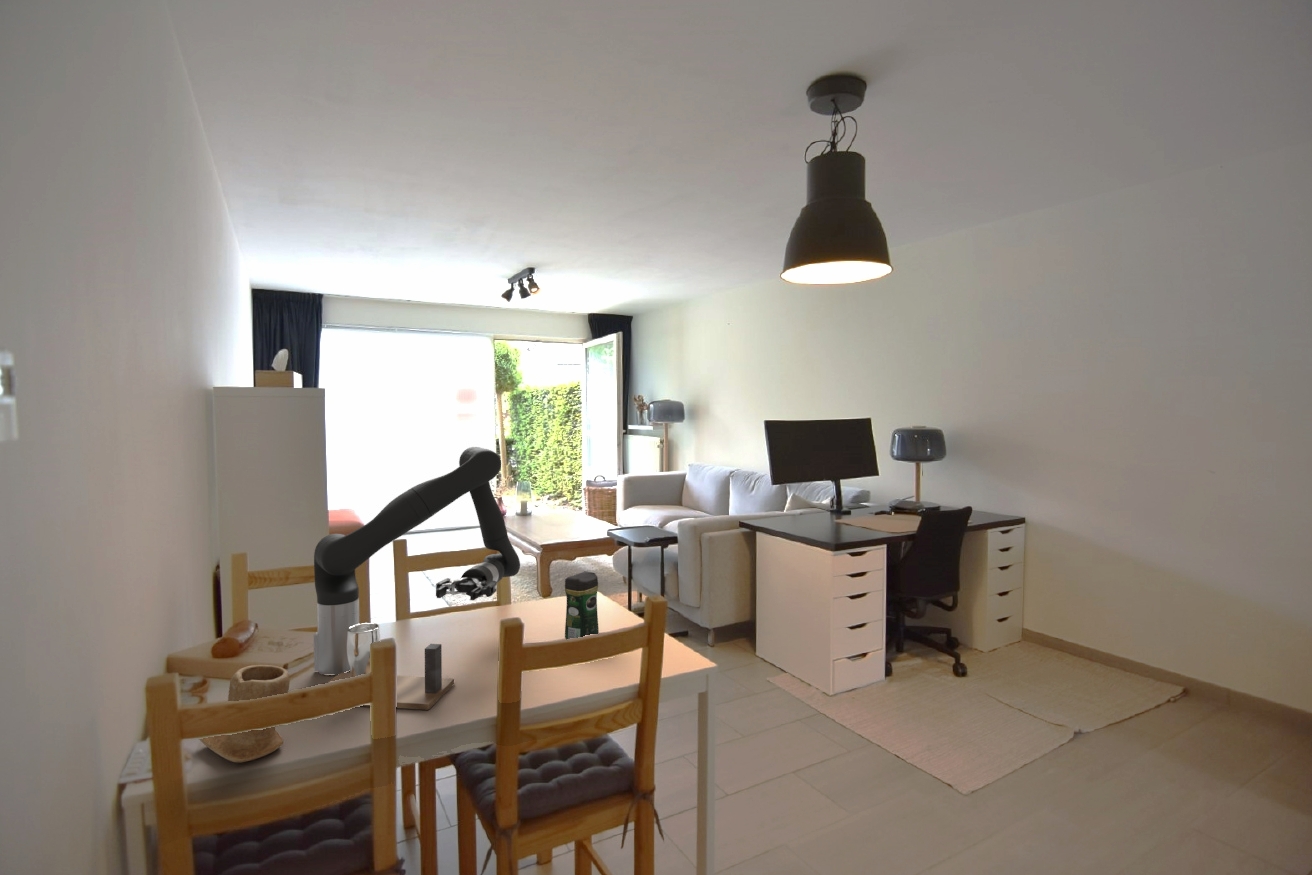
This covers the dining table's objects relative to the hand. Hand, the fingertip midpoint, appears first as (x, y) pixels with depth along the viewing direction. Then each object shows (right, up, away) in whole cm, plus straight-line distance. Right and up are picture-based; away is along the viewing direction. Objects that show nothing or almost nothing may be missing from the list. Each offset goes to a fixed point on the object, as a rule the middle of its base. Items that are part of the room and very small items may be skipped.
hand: (454, 595), depth 152 cm
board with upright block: (-13, -20, -10) cm, 26 cm away
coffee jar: (+28, -19, +26) cm, 42 cm away
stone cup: (-29, -21, -33) cm, 48 cm away
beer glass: (-18, -20, -10) cm, 28 cm away
